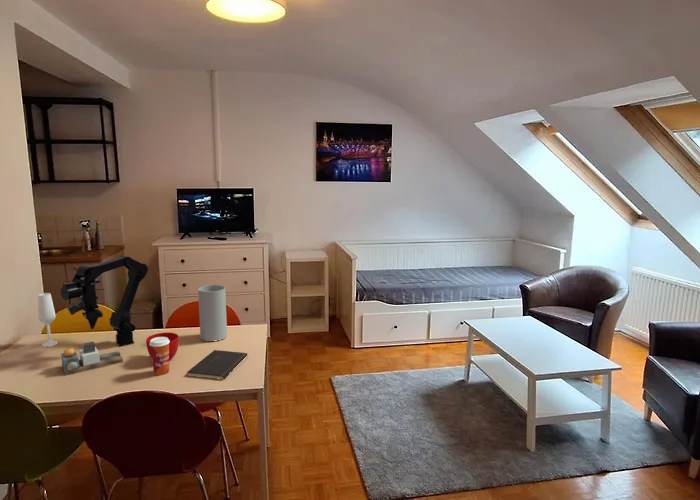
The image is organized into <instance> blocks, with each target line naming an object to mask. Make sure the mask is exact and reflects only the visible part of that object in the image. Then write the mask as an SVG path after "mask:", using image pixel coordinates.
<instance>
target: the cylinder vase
mask: <svg viewBox="0 0 700 500" xmlns="http://www.w3.org/2000/svg"><path fill="white" fill-rule="evenodd" d="M197 292H198V294H197V295H198V311H199V313H198V315H199V335H200V339H201V340H202V341H204V340H206V341H205V342H208V341H214V340H219V339H222V338H224V337H226V338H227V336H228V324H227V322H228V321H227V303H226V302H227V300H226V299H227V298H226V296H227V295H226V287H225V286H224V285H219V284H209V285H207V284H206V285H203V286H200V287H198V288H197ZM224 339H225V338H224ZM214 342H215V341H214Z"/></svg>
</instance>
